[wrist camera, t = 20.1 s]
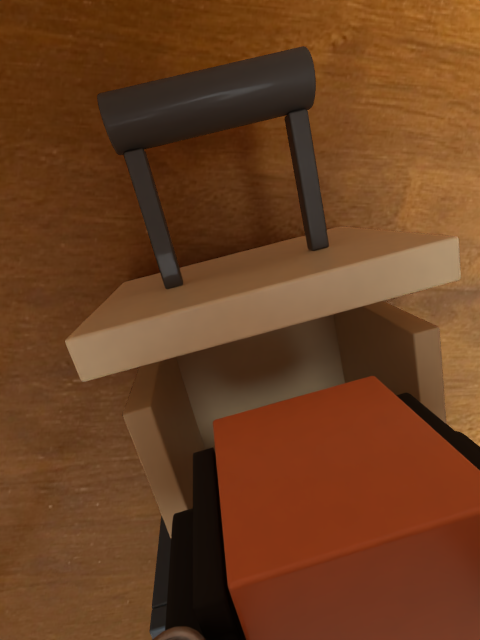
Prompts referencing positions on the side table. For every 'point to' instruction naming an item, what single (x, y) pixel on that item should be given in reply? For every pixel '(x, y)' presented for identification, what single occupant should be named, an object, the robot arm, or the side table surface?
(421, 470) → the block
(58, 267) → the side table surface
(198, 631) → the robot arm
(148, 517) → the side table surface
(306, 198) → the drawer
